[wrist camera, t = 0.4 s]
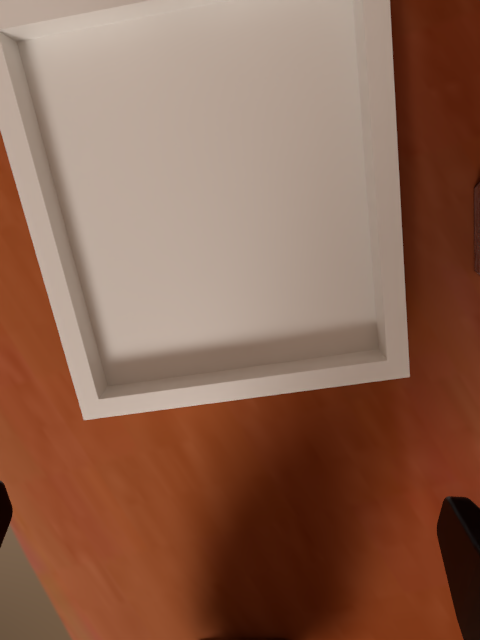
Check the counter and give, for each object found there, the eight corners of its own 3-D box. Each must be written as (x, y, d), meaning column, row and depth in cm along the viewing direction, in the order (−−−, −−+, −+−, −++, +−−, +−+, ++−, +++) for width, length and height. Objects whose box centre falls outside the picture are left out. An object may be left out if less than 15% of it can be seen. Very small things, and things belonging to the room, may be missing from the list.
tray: (393, 357, 24) (409, 377, 21) (99, 397, 25) (83, 420, 22) (368, -45, 18) (385, -79, 16) (-1, 27, 20) (-36, 5, 17)
